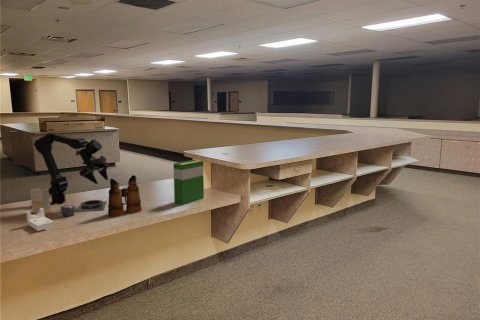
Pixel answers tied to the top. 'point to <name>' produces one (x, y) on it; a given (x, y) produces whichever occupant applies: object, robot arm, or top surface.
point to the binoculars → (132, 198)
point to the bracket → (39, 221)
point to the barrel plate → (92, 205)
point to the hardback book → (188, 181)
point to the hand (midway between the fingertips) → (102, 181)
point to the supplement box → (40, 200)
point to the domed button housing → (67, 210)
